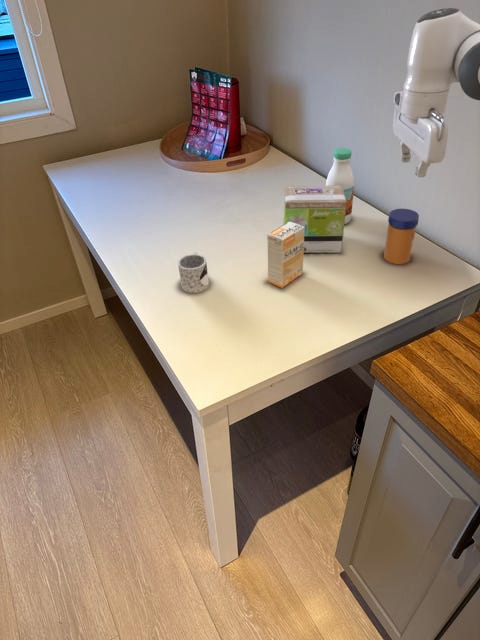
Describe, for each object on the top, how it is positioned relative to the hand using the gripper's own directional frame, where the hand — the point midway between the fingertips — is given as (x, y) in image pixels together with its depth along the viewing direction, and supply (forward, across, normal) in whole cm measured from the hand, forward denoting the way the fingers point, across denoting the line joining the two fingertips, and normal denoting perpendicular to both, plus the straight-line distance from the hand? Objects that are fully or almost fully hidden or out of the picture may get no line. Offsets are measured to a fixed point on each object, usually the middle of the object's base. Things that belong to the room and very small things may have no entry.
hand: (412, 168), depth 108 cm
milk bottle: (+23, +23, +9) cm, 34 cm away
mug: (+23, -1, +51) cm, 56 cm away
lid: (+12, 0, 0) cm, 12 cm away
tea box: (+23, +11, +20) cm, 32 cm away
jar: (+23, 0, 0) cm, 23 cm away
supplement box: (+23, -4, +29) cm, 38 cm away
